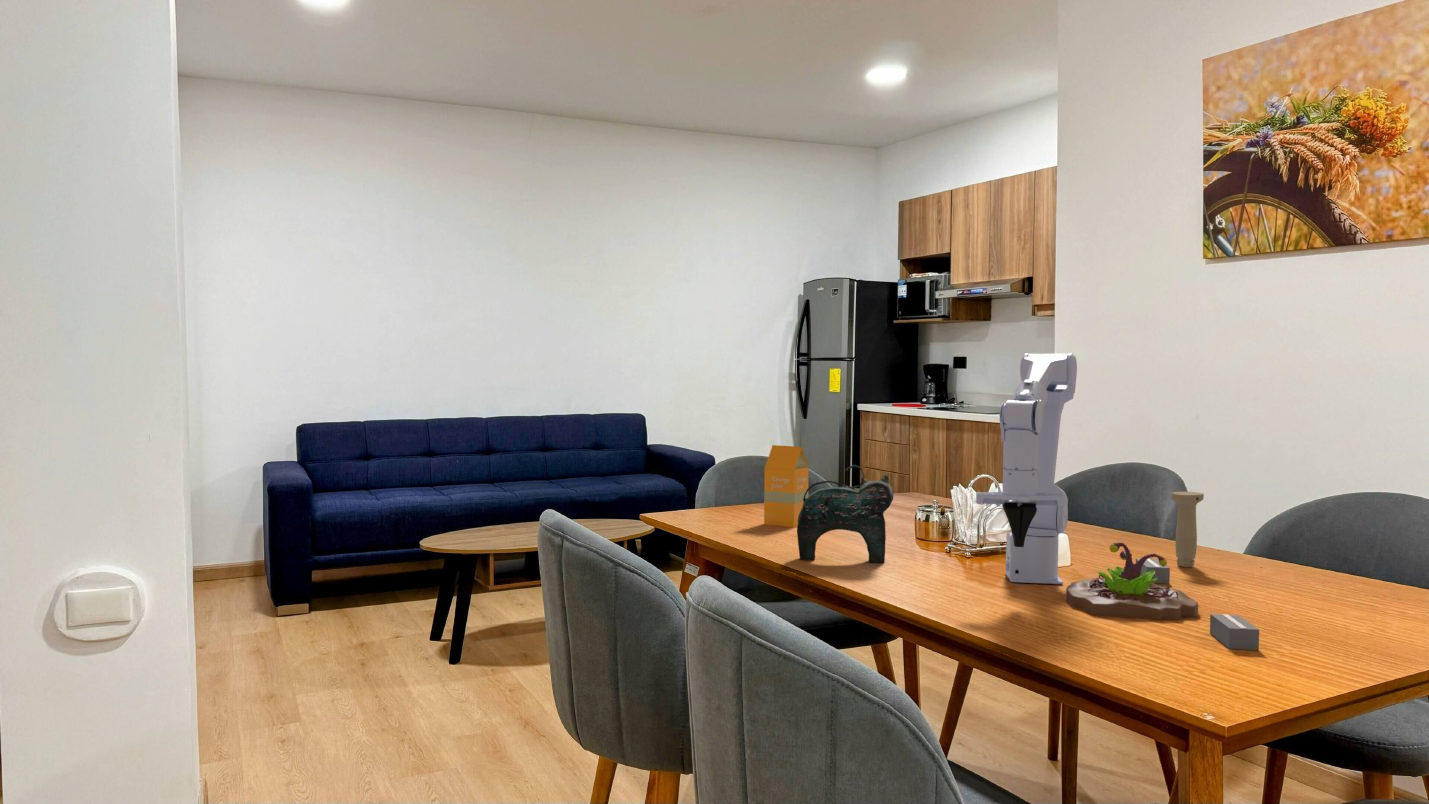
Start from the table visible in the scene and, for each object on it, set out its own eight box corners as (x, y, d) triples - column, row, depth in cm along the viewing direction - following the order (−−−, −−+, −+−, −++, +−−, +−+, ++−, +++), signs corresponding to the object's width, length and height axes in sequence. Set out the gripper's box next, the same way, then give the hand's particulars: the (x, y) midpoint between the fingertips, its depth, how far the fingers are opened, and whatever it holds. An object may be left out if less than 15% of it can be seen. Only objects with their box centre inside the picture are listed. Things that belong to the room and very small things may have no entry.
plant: (1051, 591, 174) (1052, 531, 174) (1160, 593, 173) (1161, 532, 173) (1088, 621, 154) (1090, 553, 154) (1212, 623, 153) (1214, 554, 153)
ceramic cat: (892, 559, 201) (893, 464, 199) (893, 565, 194) (894, 468, 193) (798, 555, 204) (798, 462, 203) (795, 562, 198) (796, 466, 196)
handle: (1206, 567, 194) (1208, 494, 193) (1184, 570, 191) (1185, 495, 191) (1186, 562, 198) (1188, 491, 198) (1164, 565, 196) (1165, 492, 195)
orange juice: (794, 527, 238) (794, 448, 238) (763, 524, 243) (764, 446, 242) (808, 523, 245) (809, 445, 244) (778, 520, 250) (779, 444, 249)
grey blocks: (1229, 648, 139) (1229, 627, 138) (1135, 573, 188) (1135, 557, 188) (1258, 650, 138) (1259, 629, 138) (1156, 574, 187) (1157, 558, 187)
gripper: (979, 470, 164) (978, 548, 164) (1068, 472, 161) (1066, 551, 162) (975, 466, 171) (974, 541, 171) (1059, 467, 168) (1058, 544, 169)
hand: (1018, 546), depth 167 cm, fingers closed
